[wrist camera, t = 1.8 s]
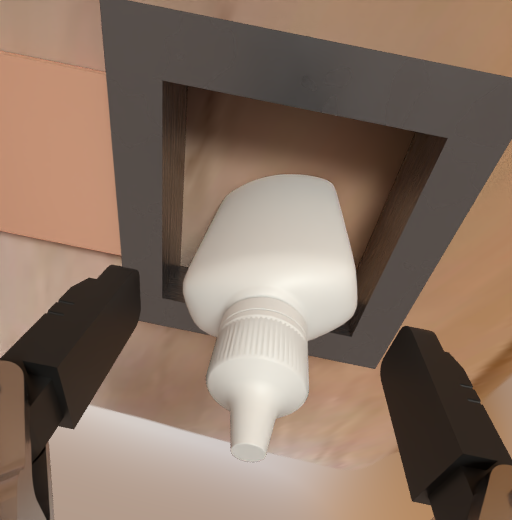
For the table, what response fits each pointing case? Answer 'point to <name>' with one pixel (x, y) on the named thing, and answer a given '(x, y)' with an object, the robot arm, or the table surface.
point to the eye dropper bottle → (269, 297)
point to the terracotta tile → (56, 154)
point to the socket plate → (305, 97)
